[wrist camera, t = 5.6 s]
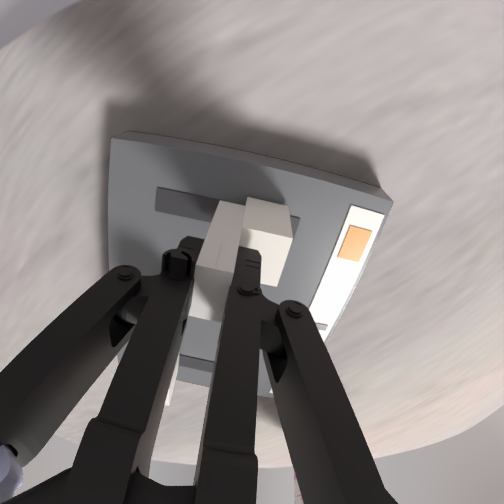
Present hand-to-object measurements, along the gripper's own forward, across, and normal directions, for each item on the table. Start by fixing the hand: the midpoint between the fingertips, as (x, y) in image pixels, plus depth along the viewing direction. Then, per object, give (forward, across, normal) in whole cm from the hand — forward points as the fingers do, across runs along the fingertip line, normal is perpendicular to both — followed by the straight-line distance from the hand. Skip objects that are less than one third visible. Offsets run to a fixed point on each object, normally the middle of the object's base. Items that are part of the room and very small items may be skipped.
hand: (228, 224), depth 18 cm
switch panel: (+4, +1, -8) cm, 9 cm away
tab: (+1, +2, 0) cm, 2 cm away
